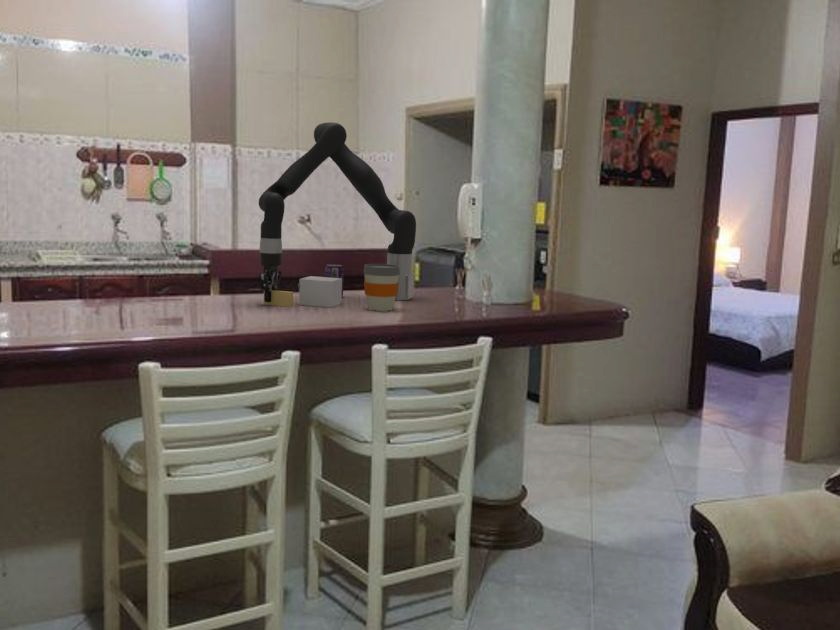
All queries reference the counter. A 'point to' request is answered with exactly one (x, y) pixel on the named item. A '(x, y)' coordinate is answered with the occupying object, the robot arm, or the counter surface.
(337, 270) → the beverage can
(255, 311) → the counter surface
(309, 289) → the light grey block
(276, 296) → the yellow sponge block
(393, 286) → the reusable coffee cup
